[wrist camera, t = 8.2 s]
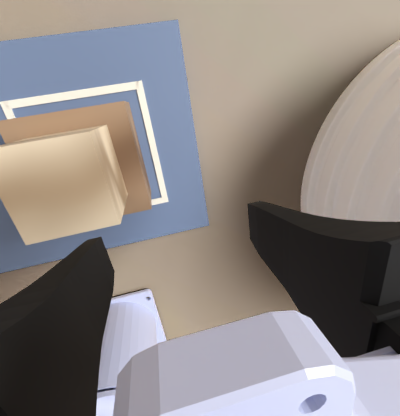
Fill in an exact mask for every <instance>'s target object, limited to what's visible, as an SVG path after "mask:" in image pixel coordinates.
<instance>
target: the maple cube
mask: <svg viewBox="0 0 400 416" xmlns="http://www.w3.org/2000/svg"><path fill="white" fill-rule="evenodd" d="M127 196H128V193H127V190H126V187H125V183H124V180H123V177H122V173H121V170H120V167H119V163H118V160H117V157H116V153H115V150H114V147H113V143H112V140H111V137H110V133H109V130H108V127H107V125H101V126H95V127H90V128H84V129H78V130H73V131H67V132H61V133H55V134H50V135H44V136H38V137H33V138H27V139H23V140H19V141H15V142H11V143H7V144H3V145H0V198H1V200H2V202H3V204H4V206H5V208H6V210H7V211H8V213H9V215H10V217H11V219H12V221H13V222H14V224H15V226H16V228H17V230H18V232H19V234H20V235H21V237H22V239H23V241H24V243H25V245H30V244H34V243H39V242H43V241H48V240H52V239H57V238H61V237H65V236H70V235H74V234H79V233H83V232H88V231H92V230H97V229H101V228H106V227H110V226H115V225H119V224H121V221H122V217H123V213H124V208H125V204H126V200H127Z"/></svg>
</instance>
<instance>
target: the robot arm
mask: <svg viewBox="0 0 400 416" xmlns="http://www.w3.org/2000/svg"><path fill="white" fill-rule="evenodd" d="M248 215H249V229H250V239H251V241H252V243H253V245H254V247H255V248H256V250H257V252H258V254H259V255H260V256H261V258H262V259H263V260H264V262H265V263H266V264H267V266H268V267H269V268H270V269H271V271H272V272H273V273H274V275H275V276H276V277H277V278H278V280H279V281H280V282H281V284H282V285H283V286H284V288H285V289H286V291H287V292H288V293H289V295H290V297H291V298H292V300H293V302H294V303H295V305H296V306H297V308H298V310H299V311H300V313H299V312H297V311H295V310H286V311H272V312H266V313H263V314H259V315H255V316H252V317H248V318H245V319H241V320H238V321H234V322H231V323H227V324H224V325H220V326H217V327H213V328H209V329H206V330H202V331H199V332H195V333H192V334H188V335H185V336H181V337H178V338H174V339H171V340H166V337H165V333H164V330H163V327H162V324H161V320H160V317H159V314H158V311H157V307H156V304H155V301H154V297H153V294H152V291H151V290H150V289H145V290H141V291H137V292H133V293H129V294H125V295H121V296H117V297H113V298H112V294H113V286H114V269H113V267H112V264H111V261H110V259H109V256H108V253H107V251H106V248H105V245H104V243H103V240H102V237H97V238H93V239H88V240H86V241H85V242H83V243H82V244H81V245H80V246H78V247H77V248H76V249H75V250H74V251H72V252H71V253H70V254H69V255H68V256H66V257H65V258H64V259H63V260H62V261H60V262H59V263H58V264H57V265H56V266H54V267H53V268H52V269H50V270H49V271H48V272H47V273H45V274H44V275H43V276H41V277H40V278H39V279H38V280H36V281H35V282H33V283H32V284H31V285H29V286H28V287H26V288H25V289H23V290H22V291H20V292H19V293H17V294H16V295H14V296H13V297H11V298H9V299H8V300H6V301H4V302H3V303H1V304H0V416H400V222H375V221H356V220H344V219H336V218H329V217H323V216H317V215H312V214H308V213H303V212H299V211H295V210H291V209H288V208H284V207H281V206H277V205H274V204H270V203H266V202H260V201H259V202H254V203H250V204H248ZM146 297H150V298H146Z"/></svg>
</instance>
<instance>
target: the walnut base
mask: <svg viewBox="0 0 400 416" xmlns="http://www.w3.org/2000/svg"><path fill="white" fill-rule="evenodd" d="M101 125H107V127H108V130H109V133H110V137H111V140H112V143H113V147H114V150H115V153H116V157H117V160H118V163H119V167H120V170H121V173H122V177H123V180H124V183H125V187H126V190H127V193H128V196H127V200H126V204H125V208H124V213H123V215H127V214H131V213H136V212H141V211H145V210H150V209H152V203H151V188H150V184H149V180H148V176H147V172H146V168H145V164H144V160H143V156H142V152H141V148H140V144H139V140H138V136H137V132H136V128H135V124H134V120H133V116H132V112H131V108H130V104H129V102H126V101H120V102H114V103H107V104H101V105H95V106H89V107H82V108H76V109H70V110H63V111H57V112H51V113H45V114H38V115H32V116H26V117H19V118H13V119H7V120H1V121H0V134H1V136H2V138H3V140H4V142H5V144H7V143H11V142H15V141H19V140H23V139H27V138H33V137H38V136H44V135H50V134H55V133H61V132H67V131H73V130H78V129H84V128H90V127H95V126H101Z"/></svg>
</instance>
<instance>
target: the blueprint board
mask: <svg viewBox="0 0 400 416" xmlns="http://www.w3.org/2000/svg"><path fill="white" fill-rule="evenodd" d="M120 101H126V102H129V104H130V108H131V112H132V116H133V120H134V124H135V128H136V132H137V136H138V140H139V144H140V148H141V152H142V156H143V160H144V164H145V168H146V172H147V176H148V180H149V184H150V188H151V203H152V209H150V210H145V211H141V212H136V213H131V214H127V215H123V217H122V221H121V224H119V225H115V226H110V227H106V228H101V229H97V230H92V231H88V232H83V233H79V234H74V235H70V236H65V237H61V238H57V239H52V240H48V241H43V242H39V243H34V244H30V245H25V243H24V241H23V239H22V237H21V235H20V234H19V232H18V230H17V228H16V226H15V224H14V222H13V221H12V219H11V217H10V215H9V213H8V211H7V210H6V208H5V206H4V204H3V202H2V200H1V198H0V273H4V272H8V271H12V270H17V269H21V268H25V267H30V266H34V265H38V264H43V263H47V262H52V261H56V260H60V259H64V258H65V257H66V256H68V255H69V254H70V253H71V252H72V251H74V250H75V249H76V248H77V247H78V246H80V245H81V244H82V243H83V242H85V241H86V240H88V239H93V238H97V237H102V240H103V243H104V245H105V248H106V249H108V248H112V247H117V246H121V245H125V244H130V243H134V242H139V241H143V240H147V239H152V238H156V237H160V236H165V235H169V234H173V233H178V232H182V231H186V230H191V229H195V228H199V227H204V226H208V225H209V221H208V215H207V208H206V202H205V195H204V189H203V182H202V175H201V169H200V162H199V156H198V149H197V142H196V136H195V129H194V123H193V116H192V110H191V103H190V96H189V90H188V83H187V77H186V70H185V63H184V57H183V50H182V44H181V37H180V31H179V24H178V20H171V21H163V22H155V23H146V24H138V25H130V26H122V27H114V28H106V29H97V30H89V31H81V32H73V33H65V34H57V35H48V36H40V37H32V38H24V39H16V40H8V41H0V121H1V120H7V119H13V118H19V117H26V116H32V115H38V114H45V113H51V112H57V111H63V110H70V109H76V108H82V107H89V106H95V105H101V104H107V103H114V102H120ZM3 144H5V142H4V140H3V138H2V136H1V134H0V145H3Z"/></svg>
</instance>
